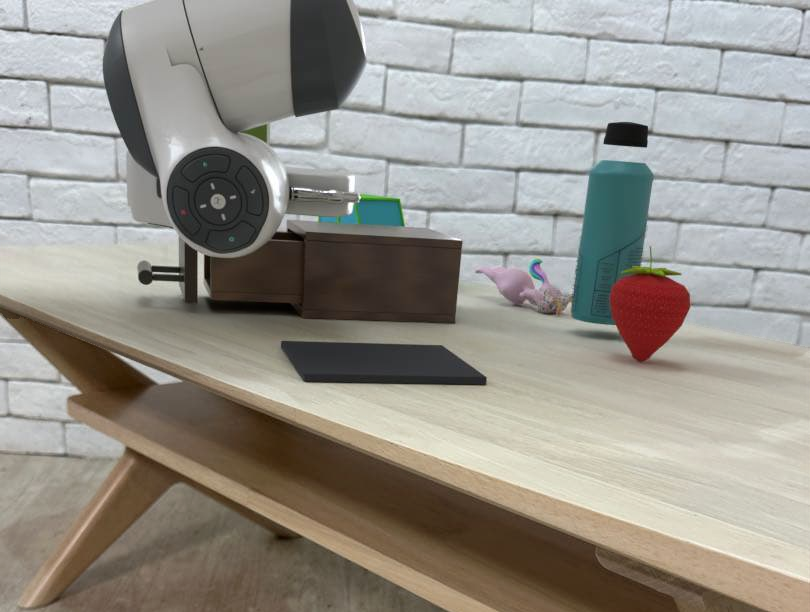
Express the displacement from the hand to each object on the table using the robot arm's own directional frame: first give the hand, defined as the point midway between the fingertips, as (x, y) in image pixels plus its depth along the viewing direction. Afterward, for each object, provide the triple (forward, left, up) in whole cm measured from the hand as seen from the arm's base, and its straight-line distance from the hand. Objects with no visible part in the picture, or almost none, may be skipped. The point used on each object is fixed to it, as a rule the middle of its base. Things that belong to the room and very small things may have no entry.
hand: (247, 182), depth 95 cm
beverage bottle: (+35, -8, -12) cm, 38 cm away
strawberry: (+33, -21, -12) cm, 41 cm away
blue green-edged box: (+19, +24, -12) cm, 33 cm away
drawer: (-1, +2, -11) cm, 11 cm away
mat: (+8, -25, -12) cm, 29 cm away
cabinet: (+13, +2, -12) cm, 18 cm away
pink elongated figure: (+33, +9, -12) cm, 36 cm away
